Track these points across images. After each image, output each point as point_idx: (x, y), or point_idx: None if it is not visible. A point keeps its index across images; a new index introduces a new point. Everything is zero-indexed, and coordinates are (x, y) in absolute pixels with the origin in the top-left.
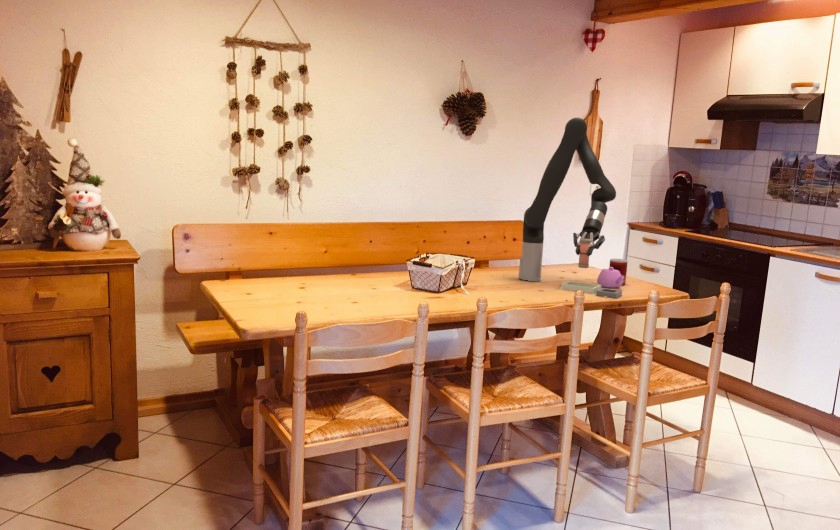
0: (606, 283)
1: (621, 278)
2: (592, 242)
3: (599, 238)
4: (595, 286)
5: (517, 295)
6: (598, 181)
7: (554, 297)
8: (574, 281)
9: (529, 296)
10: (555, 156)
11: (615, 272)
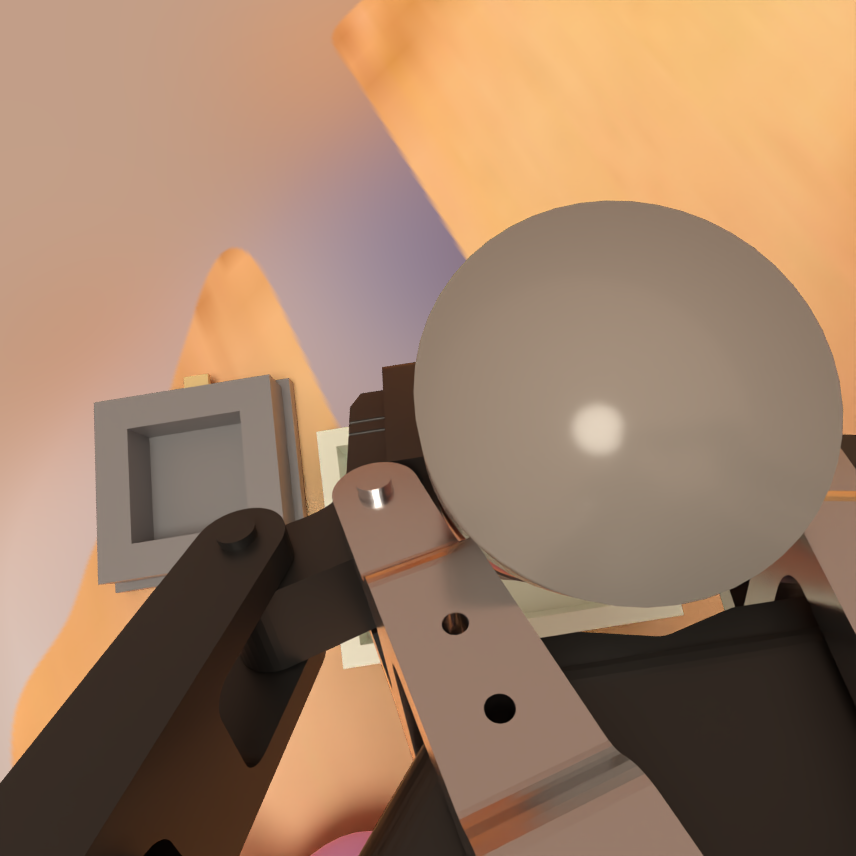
0: (353, 837)
1: None
2: (384, 562)
3: (106, 823)
4: None
5: (706, 17)
6: None
7: (504, 154)
8: (626, 616)
9: (635, 51)
10: None
11: None
